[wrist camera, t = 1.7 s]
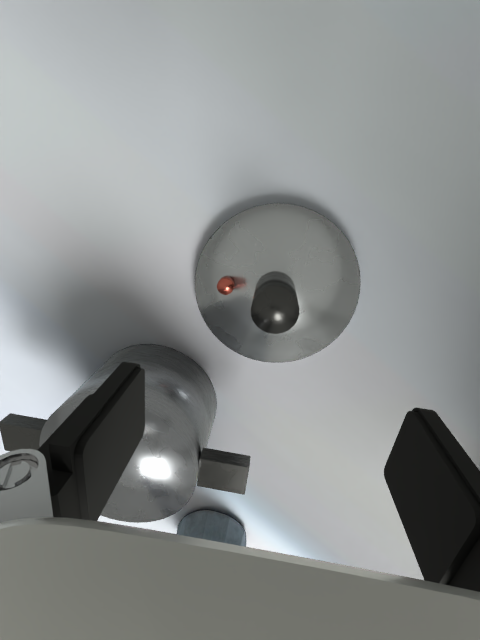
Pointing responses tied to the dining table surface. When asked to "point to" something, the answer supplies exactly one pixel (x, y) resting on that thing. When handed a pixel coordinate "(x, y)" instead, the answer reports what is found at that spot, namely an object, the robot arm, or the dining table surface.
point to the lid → (277, 283)
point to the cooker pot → (153, 436)
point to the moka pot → (212, 527)
